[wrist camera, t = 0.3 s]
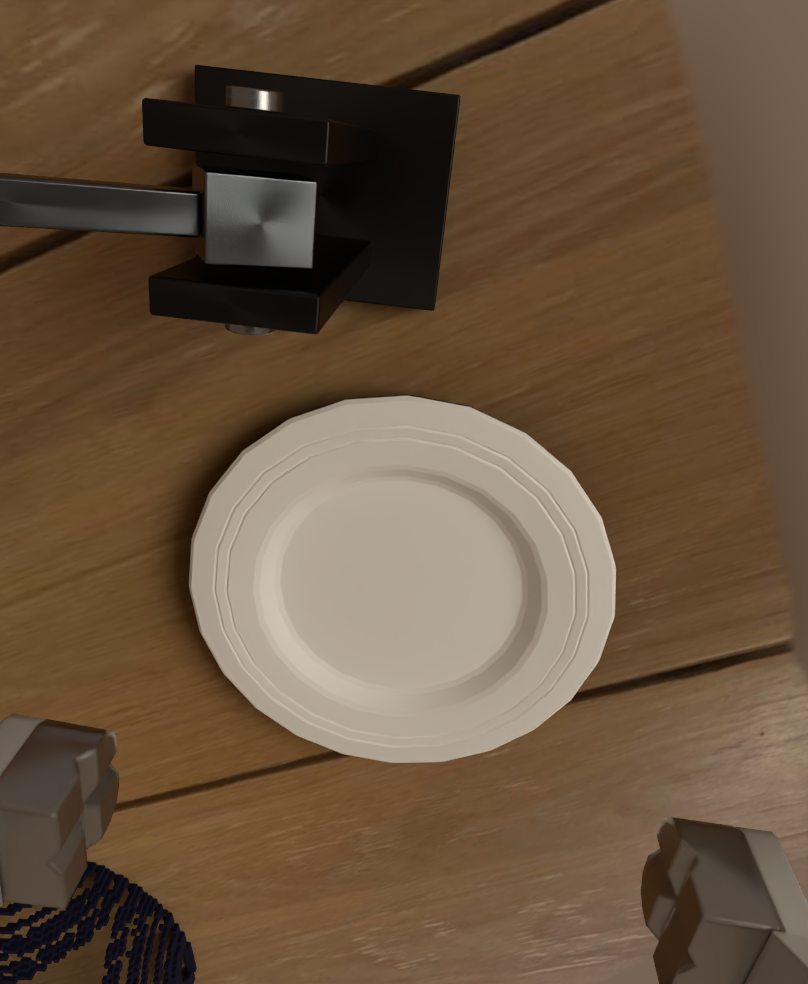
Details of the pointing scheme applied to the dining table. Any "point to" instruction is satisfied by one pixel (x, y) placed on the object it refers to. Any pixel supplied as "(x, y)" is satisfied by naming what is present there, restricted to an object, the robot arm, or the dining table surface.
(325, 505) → the plate
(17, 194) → the lever
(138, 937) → the decorative bowl
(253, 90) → the switch bracket
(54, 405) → the dining table surface
